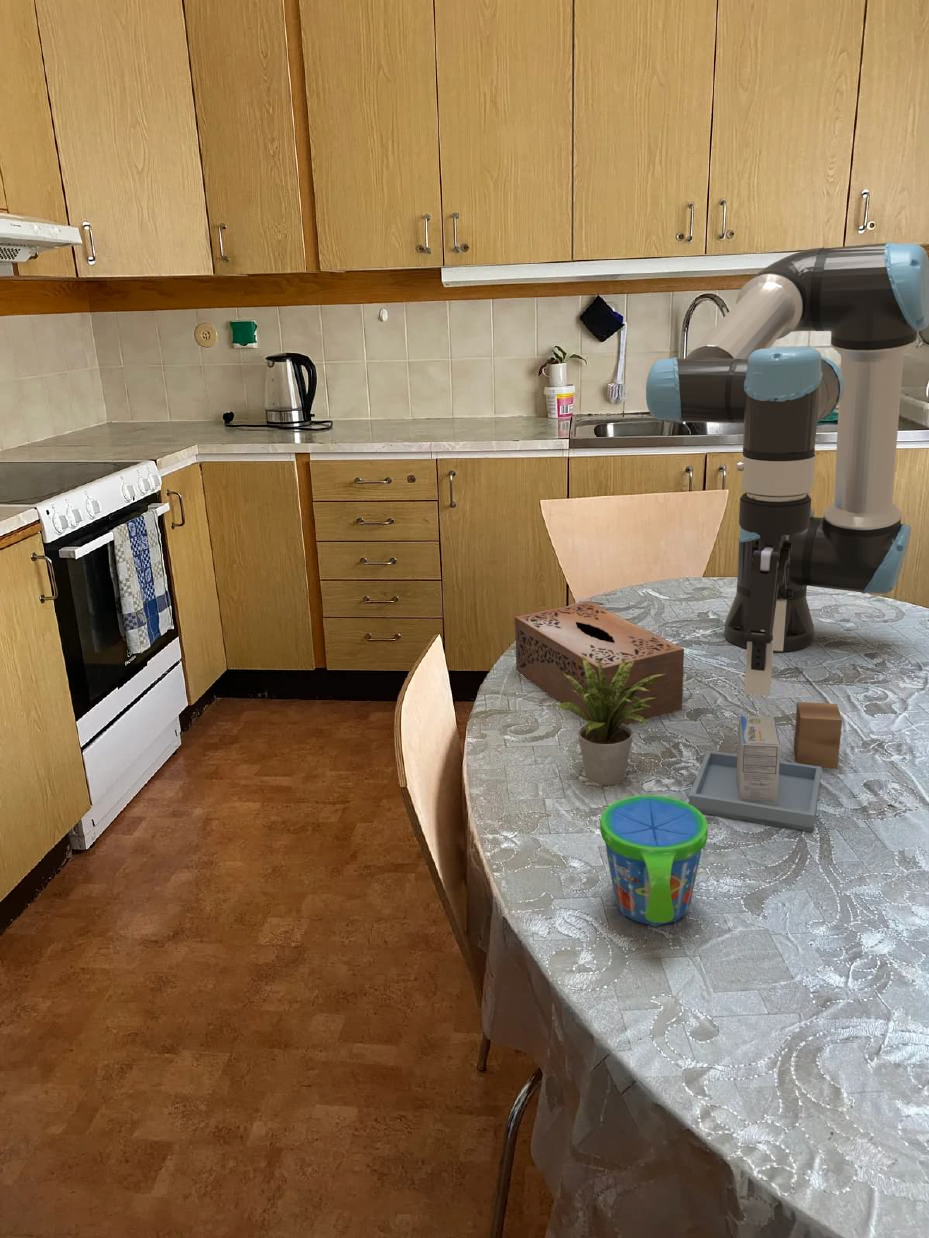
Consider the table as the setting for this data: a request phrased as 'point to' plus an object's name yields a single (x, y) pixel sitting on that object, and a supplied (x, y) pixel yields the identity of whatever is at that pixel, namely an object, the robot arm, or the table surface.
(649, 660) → the tissue box cover
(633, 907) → the snack cup
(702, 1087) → the table surface
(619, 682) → the house plant
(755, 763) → the medicine box
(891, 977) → the table surface
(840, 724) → the walnut block
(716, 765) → the grey tray
